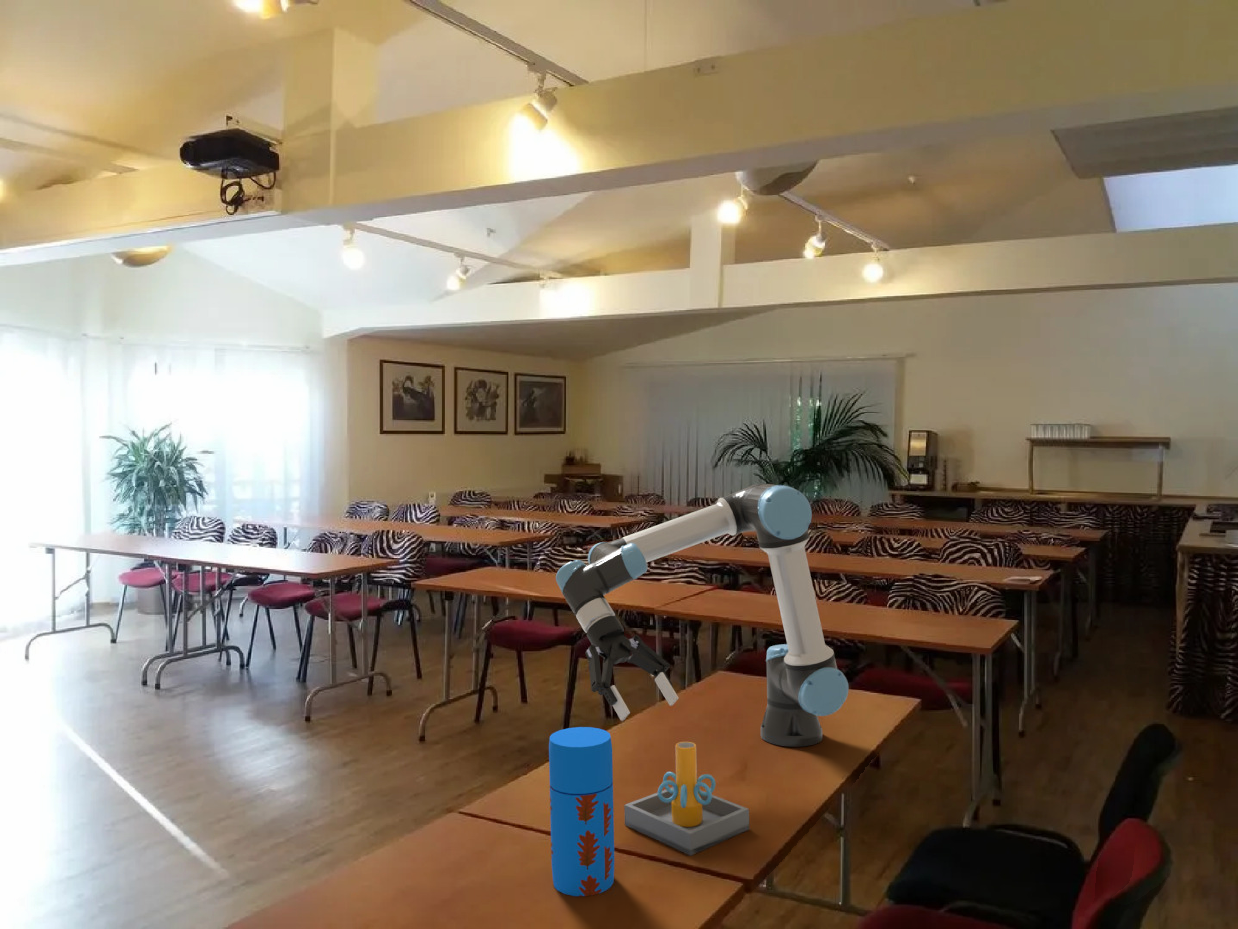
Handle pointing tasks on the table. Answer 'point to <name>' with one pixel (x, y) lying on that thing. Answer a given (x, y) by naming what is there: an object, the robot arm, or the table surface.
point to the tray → (715, 827)
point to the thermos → (581, 810)
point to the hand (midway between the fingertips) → (650, 709)
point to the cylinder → (686, 788)
